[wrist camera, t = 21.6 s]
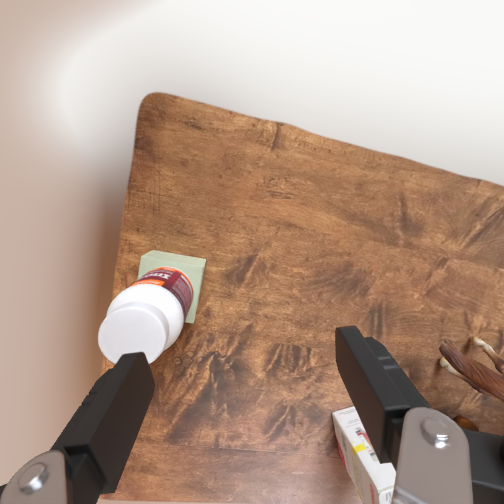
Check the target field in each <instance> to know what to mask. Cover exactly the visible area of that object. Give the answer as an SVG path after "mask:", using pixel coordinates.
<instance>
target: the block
mask: <svg viewBox="0 0 504 504" xmlns="http://www.w3.org/2000/svg"><path fill="white" fill-rule="evenodd" d="M205 265H206V259H202V258H196V257H190V256H185V255H179V254H174V253H168V252H162V251H157V250H152V251H150V252H148V253H146V254H145V255H143V256H141V260H140V267H139V273H138V279H139V278H141V277H142V276H143V275H145V274H146V273H147V272H149V271H150V270H152V269H155V268H158V267H163V266H169V267H174V268H177V269H179V270H181V271H182V272H184V273H185V274H186V275H187V276H188V277H189V279H190V280H191V282H192V285H193V289H194V296H193V301H192V304H191V306H190V309H189V312H188V314H187V317H186V320H185V322H186V323H194V320H195V316H196V312H197V308H198V303H199V298H200V292H201V287H202V281H203V276H204V270H205Z"/></svg>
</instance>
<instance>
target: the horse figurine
mask: <svg viewBox="0 0 504 504" xmlns="http://www.w3.org/2000/svg"><path fill="white" fill-rule="evenodd" d="M444 341H445V343H444V342H442V344H441V346H440V348H439V350H440V352H441V354H442V355H443V356H444V357H442V358H441V359H440V365H441V366H442V367H444V368H447V369H446V370H447V371H448V372H449V373H452V374H455V375H456V376H458V377H460V378H461V379H463V380H464V381H466V382H467V383H469V384H470V386H472V387H473V388H474V389H475V390H477V391H478V392H480V393H482V394H486V395H489V396H492V397H495V398H497V399H499V400H500V401H502V402H503V403H504V378H502V377H501V376H499V375H498V374H496V373H495V372H493V371H492V370H490V369H489V368H487V367H486V366H484V365H483V364H481V363H479V362H477V361H475V360H473V359H470V358H468V357H466V356H465V355H463V354H462V353H461V352H460V351H458V350H457V349H456V348H455V347H454V346H453V345H452V344H451V342H450V341H449V339H445V340H444ZM472 345H475V346H478V347H482V348H483V349H482V350H483V351H484V352H485V353H486V354H487V355H488V356H489V357H490V358H491V359H492V361H493V362H494V364H495V367H496V369H497V370H498V371H499V372H500V373H502V374H504V361H503V360H502V359H501V358H500V357H499V356H498V355H497V354H496V353H495V351H494V350H493V348H492V347H491V346H489V345H487V344H486V343H485V342H483V341H482V340H481V339H479V338H477V337H476V336H473V337H472Z"/></svg>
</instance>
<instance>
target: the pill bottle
mask: <svg viewBox="0 0 504 504" xmlns="http://www.w3.org/2000/svg"><path fill="white" fill-rule="evenodd" d="M193 296H194V289H193V285H192V282H191V280H190V279H189V277H188V276H187V275H186V274H185V273H184V272H182V271H181V270H179V269H177V268H174V267H169V266H163V267H158V268H155V269H152V270H150V271H149V272H147V273H146V274H145V275H143V276H142V277H141V278H139V279H138V280H137V281H135V282H134V283H133V284H131V285H130V286H129V287H127V288H126V289H125V290H123V291H122V292H121V293H120V294H119V295H117V296H116V298H115V299H114V300H113V301H112V303H111V304H110V306H109V308H108V311H107V315H106V318H105V320H104V321H103V323H102V324H101V326H100V329H99V333H98V343H99V347H100V349H101V351H102V353H103V354H104V356H105V357H106V358H107V359H108V360H109V361H111V362H112V363H114V364H116V363H117V361H118V360H119V358H120V357H121V356H122V355H123V354H126V353H134V352H144V353H145V355H146V358H147V361H148V363H149V364H150V363H152V362H153V361H155V360H156V359H157V358H158V357H159V356H160V354H161V353H162V351H164V350H166V349H167V348H169V347H170V346H171V345H172V344H173V343H174V342H175V341H176V339H177V338H178V336H179V335H180V332H181V330H182V328H183V325H184V322H185V320H186V317H187V314H188V312H189V309H190V306H191V304H192V301H193Z"/></svg>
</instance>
